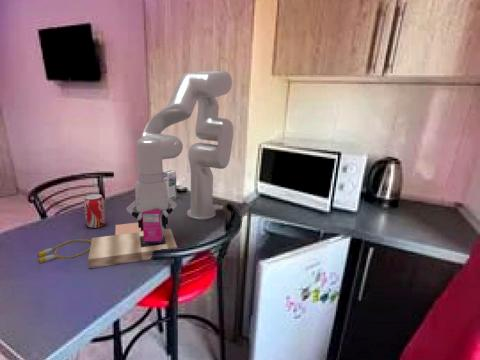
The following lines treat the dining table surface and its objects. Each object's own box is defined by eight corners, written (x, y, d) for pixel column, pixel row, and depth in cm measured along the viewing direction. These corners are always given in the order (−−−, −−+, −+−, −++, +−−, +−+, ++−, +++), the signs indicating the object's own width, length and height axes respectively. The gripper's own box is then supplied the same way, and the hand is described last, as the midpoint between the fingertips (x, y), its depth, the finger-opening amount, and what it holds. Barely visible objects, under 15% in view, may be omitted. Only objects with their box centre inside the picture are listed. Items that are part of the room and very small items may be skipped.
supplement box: (146, 234, 103) (145, 204, 99) (164, 234, 103) (163, 204, 100) (143, 243, 97) (141, 211, 94) (161, 243, 98) (160, 211, 94)
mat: (152, 222, 120) (152, 221, 120) (156, 235, 109) (156, 234, 109) (115, 226, 115) (115, 224, 115) (115, 240, 104) (115, 238, 104)
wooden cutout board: (170, 236, 109) (170, 228, 108) (177, 255, 97) (177, 247, 96) (92, 245, 100) (92, 237, 99) (89, 268, 87) (88, 259, 87)
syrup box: (168, 201, 143) (168, 173, 139) (160, 199, 146) (159, 171, 142) (176, 198, 148) (176, 170, 144) (168, 196, 150) (167, 168, 146)
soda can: (98, 230, 111) (95, 200, 108) (82, 227, 112) (78, 198, 109) (110, 222, 118) (107, 194, 114) (94, 220, 119) (91, 192, 116)
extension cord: (42, 246, 99) (41, 241, 98) (94, 240, 105) (93, 234, 104) (34, 266, 88) (33, 260, 88) (92, 257, 94) (92, 251, 94)
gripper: (176, 172, 100) (177, 220, 105) (121, 175, 94) (125, 226, 99) (180, 178, 93) (181, 229, 99) (121, 182, 87) (126, 236, 93)
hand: (153, 227), depth 99 cm, fingers closed on supplement box, 6 cm apart
